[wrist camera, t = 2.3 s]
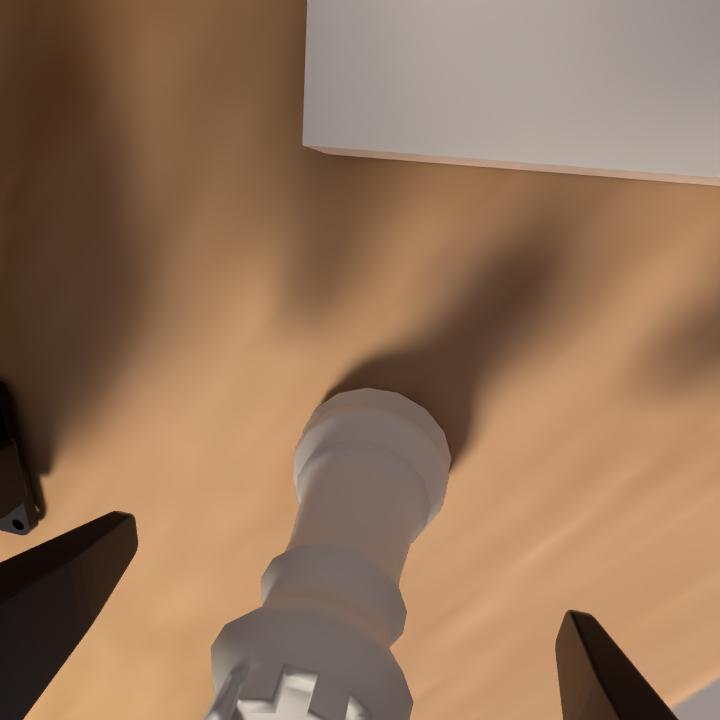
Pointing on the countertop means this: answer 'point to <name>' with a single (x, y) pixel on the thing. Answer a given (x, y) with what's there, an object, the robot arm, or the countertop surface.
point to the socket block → (519, 84)
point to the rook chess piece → (338, 570)
